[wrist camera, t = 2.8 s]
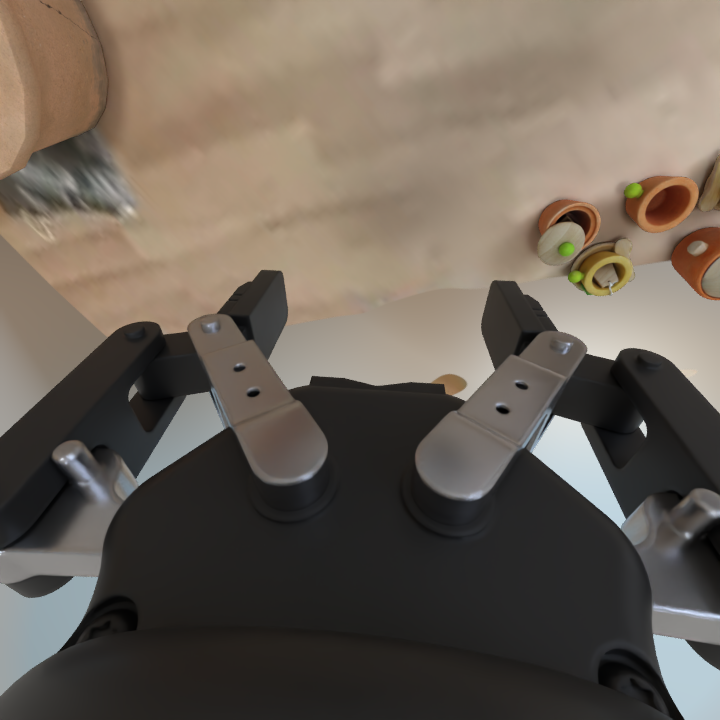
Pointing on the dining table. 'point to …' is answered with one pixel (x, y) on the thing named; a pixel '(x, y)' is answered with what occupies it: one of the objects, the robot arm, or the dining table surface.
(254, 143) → the dining table surface
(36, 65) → the pottery
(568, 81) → the dining table surface
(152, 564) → the robot arm
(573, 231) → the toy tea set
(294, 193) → the dining table surface
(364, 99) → the dining table surface
